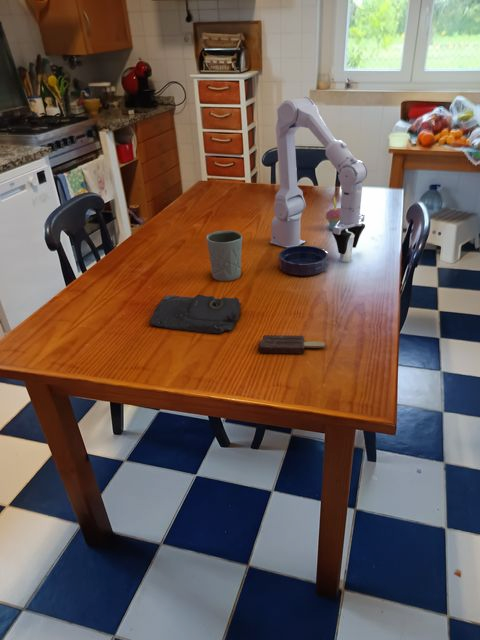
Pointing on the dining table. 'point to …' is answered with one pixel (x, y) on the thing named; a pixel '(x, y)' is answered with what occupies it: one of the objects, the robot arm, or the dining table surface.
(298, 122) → the robot arm
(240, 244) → the grey green cup
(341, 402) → the dining table surface
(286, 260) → the bowl
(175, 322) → the black snap pouch
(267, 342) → the ice cream bar
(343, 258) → the milkshake
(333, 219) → the cupcake
